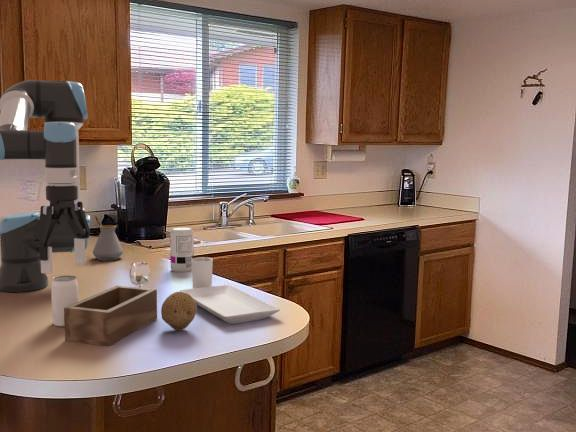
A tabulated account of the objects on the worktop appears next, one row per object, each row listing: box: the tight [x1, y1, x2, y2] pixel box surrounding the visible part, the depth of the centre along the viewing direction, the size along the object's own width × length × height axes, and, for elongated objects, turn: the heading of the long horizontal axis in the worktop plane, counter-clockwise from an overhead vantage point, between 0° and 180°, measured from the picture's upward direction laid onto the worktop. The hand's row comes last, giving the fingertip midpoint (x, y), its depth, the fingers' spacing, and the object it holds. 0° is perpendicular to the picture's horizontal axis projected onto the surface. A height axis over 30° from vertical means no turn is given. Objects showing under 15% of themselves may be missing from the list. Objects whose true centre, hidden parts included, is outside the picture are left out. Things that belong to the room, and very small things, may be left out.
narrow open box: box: [64, 285, 158, 347], centre depth 158 cm, size 12×23×8 cm, turn 164°
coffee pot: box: [92, 215, 124, 262], centre depth 247 cm, size 21×12×15 cm, turn 33°
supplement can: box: [169, 226, 195, 273], centre depth 226 cm, size 8×8×15 cm
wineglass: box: [128, 261, 151, 288], centre depth 180 cm, size 6×6×12 cm
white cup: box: [191, 256, 214, 289], centre depth 197 cm, size 7×7×10 cm
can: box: [50, 275, 79, 328], centre depth 161 cm, size 6×6×12 cm
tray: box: [179, 284, 281, 325], centre depth 177 cm, size 17×32×4 cm, turn 31°
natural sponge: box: [160, 291, 198, 332], centre depth 157 cm, size 9×9×10 cm
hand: (64, 268), depth 160 cm, fingers open, 13 cm apart
